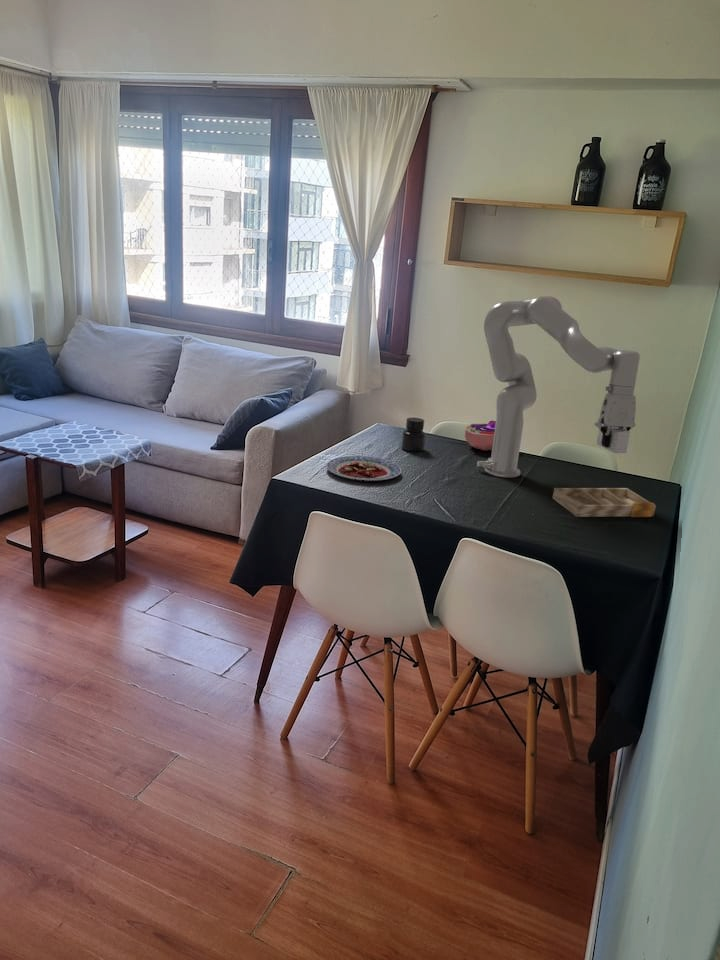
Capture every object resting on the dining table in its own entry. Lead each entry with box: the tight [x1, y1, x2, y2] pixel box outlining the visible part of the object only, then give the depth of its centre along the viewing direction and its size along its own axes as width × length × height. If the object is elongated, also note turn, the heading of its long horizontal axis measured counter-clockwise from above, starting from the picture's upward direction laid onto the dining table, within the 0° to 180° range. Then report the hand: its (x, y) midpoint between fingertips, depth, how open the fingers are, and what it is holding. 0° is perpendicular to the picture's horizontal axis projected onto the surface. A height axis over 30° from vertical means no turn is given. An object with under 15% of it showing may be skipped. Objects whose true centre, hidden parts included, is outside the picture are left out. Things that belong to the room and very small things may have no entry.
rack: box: [552, 487, 657, 518], centre depth 213 cm, size 26×17×4 cm, turn 101°
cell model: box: [464, 420, 496, 452], centre depth 268 cm, size 17×20×11 cm
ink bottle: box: [401, 417, 426, 452], centre depth 260 cm, size 10×9×12 cm
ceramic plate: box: [326, 455, 402, 482], centre depth 230 cm, size 26×26×3 cm
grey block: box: [596, 424, 631, 454], centre depth 215 cm, size 4×11×7 cm, turn 11°
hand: (611, 445), depth 216 cm, fingers closed on grey block, 4 cm apart
